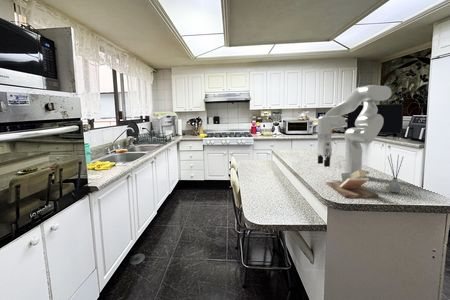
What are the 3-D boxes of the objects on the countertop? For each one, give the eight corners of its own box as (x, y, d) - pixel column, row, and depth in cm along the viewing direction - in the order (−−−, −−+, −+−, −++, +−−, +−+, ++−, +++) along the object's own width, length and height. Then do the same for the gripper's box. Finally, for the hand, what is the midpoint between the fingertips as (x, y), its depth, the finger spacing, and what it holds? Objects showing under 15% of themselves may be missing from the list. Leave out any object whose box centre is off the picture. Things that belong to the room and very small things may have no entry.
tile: (368, 177, 116) (369, 180, 116) (357, 185, 126) (358, 188, 125) (348, 178, 116) (348, 180, 116) (339, 186, 126) (339, 188, 125)
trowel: (355, 173, 126) (369, 166, 114) (357, 184, 124) (372, 178, 112) (340, 173, 126) (353, 167, 114) (342, 184, 124) (355, 179, 112)
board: (352, 184, 137) (352, 182, 137) (378, 197, 113) (378, 194, 113) (324, 184, 137) (325, 182, 137) (345, 198, 114) (345, 195, 113)
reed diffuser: (405, 194, 117) (408, 155, 114) (392, 195, 116) (395, 155, 114) (390, 189, 127) (392, 152, 124) (378, 189, 127) (380, 153, 124)
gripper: (337, 137, 131) (336, 167, 134) (324, 135, 149) (323, 162, 151) (323, 138, 131) (323, 168, 134) (312, 136, 149) (312, 162, 151)
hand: (323, 164), depth 142 cm, fingers open, 9 cm apart
